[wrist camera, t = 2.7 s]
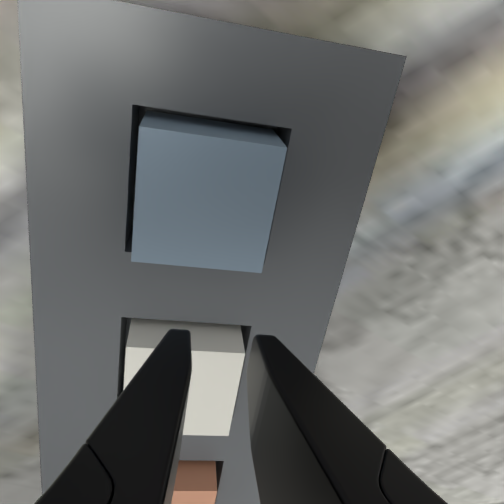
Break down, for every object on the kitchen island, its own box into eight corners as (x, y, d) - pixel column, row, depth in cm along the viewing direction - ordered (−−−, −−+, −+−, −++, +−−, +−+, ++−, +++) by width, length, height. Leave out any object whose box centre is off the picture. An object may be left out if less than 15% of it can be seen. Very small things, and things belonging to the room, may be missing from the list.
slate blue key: (252, 240, 20) (261, 273, 18) (139, 228, 19) (131, 261, 17) (273, 129, 18) (287, 147, 16) (146, 110, 17) (139, 126, 15)
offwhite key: (224, 390, 24) (228, 436, 22) (128, 386, 23) (120, 433, 21) (238, 313, 22) (245, 353, 19) (133, 306, 21) (125, 347, 18)
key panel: (253, 505, 32) (259, 556, 29) (60, 506, 30) (45, 562, 27) (371, 51, 19) (406, 56, 16) (48, -12, 17) (16, -20, 14)
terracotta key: (203, 499, 28) (205, 549, 25) (121, 499, 27) (113, 551, 24) (214, 443, 26) (217, 491, 23) (125, 441, 25) (117, 491, 22)
